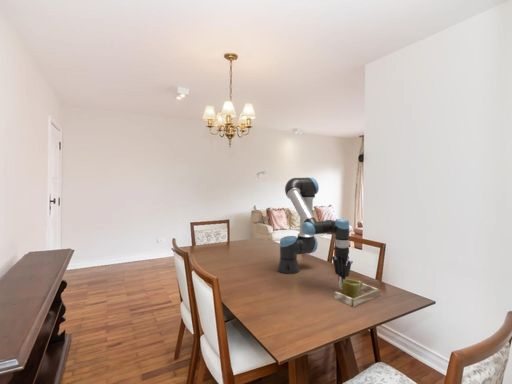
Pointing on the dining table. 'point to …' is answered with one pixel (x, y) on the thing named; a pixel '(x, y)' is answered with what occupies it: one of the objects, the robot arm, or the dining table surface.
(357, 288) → the mug
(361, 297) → the cradle
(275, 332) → the dining table surface
